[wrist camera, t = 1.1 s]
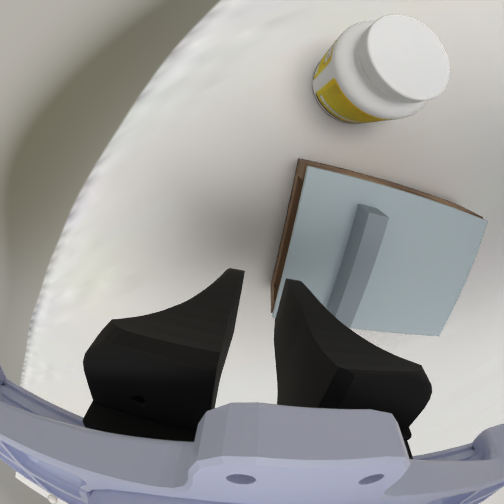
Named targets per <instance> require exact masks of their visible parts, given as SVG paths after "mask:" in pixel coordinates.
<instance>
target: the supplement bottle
mask: <svg viewBox="0 0 504 504" xmlns="http://www.w3.org/2000/svg"><path fill="white" fill-rule="evenodd" d="M449 76H450V64H449V59H448V56H447V53H446V51H445V48H444V46H443V45H442V43H441V41H440V40H439V38H438V37H437V36H436V35H435V34H434V32H433V31H432V30H431V29H429V28H428V27H427V26H426V25H424V24H423V23H422V22H420V21H418V20H416V19H414V18H412V17H409V16H405V15H400V14H391V15H386V16H383V17H381V18H379V19H377V20H376V21H364V22H360V23H357V24H354V25H352V26H351V27H349V28H348V29H346V30H345V31H344V32H343V33H342V34H341V35H340V36H339V37H338V39H337V40H336V41H335V43H334V44H333V45H332V46H331V48H330V49H329V50H328V52H327V53H326V54H325V55H324V57H323V58H322V60H321V61H320V62H319V64H318V65H317V67H316V69H315V71H314V75H313V81H312V85H313V91H314V95H315V97H316V99H317V101H318V103H319V104H320V106H321V107H322V108H323V109H324V110H325V111H326V112H327V113H328V114H329V115H331V116H332V117H334V118H336V119H337V120H340V121H343V122H346V123H367V122H375V121H383V120H393V119H400V118H405V117H408V116H410V115H413V114H414V113H416V112H417V111H419V110H420V109H421V108H422V107H423V106H424V105H425V103H426V102H427V100H430V99H433V98H435V97H437V96H439V95H440V94H441V93H442V92H443V91H444V89H445V88H446V86H447V84H448V81H449Z"/></svg>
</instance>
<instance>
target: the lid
mask: <svg viewBox="0 0 504 504" xmlns="http://www.w3.org/2000/svg"><path fill="white" fill-rule="evenodd" d="M486 224H487V221H486V220H484V219H482V218H479V217H477V216H474V215H472V214H469V213H467V212H464V211H461V210H459V209H456V208H453V207H450V206H448V205H445V204H442V203H439V202H436V201H433V200H430V199H427V198H424V197H421V196H418V195H415V194H412V193H409V192H406V191H403V190H399V189H396V188H393V187H389V186H386V185H382V184H379V183H375V182H372V181H368V180H365V179H361V178H357V177H353V176H349V175H345V174H342V173H337V172H333V171H329V170H325V169H321V168H316V167H312V166H307V168H306V173H305V177H304V182H303V187H302V191H301V196H300V200H299V205H298V209H297V214H296V218H295V223H294V227H293V231H292V236H291V240H290V244H289V249H288V253H287V257H286V261H285V265H284V269H283V274H282V278H281V282H280V286H279V290H278V294H277V298H276V302H275V306H274V310H273V317H274V318H276V314H277V311H278V307H279V303H280V299H281V295H282V291H283V288H284V284H285V280H286V278H287V279H293V280H299V281H302V282H303V283H304V284H305V286H306V287H307V288H308V289H309V290H310V291H311V292H312V293H313V295H314V296H315V297H316V298H317V299H318V300H319V301H320V302H321V303H322V304H323V306H324V307H325V308H326V309H327V310H328V311H329V312H331V313H332V314H333V315H334V316H335V317H336V318H337V319H338V320H339V321H340V322H342V323H343V324H344V325H345V326H347V327H348V328H353V329H362V330H371V331H381V332H391V333H403V334H415V335H428V336H439V335H440V333H441V331H442V329H443V327H444V326H445V324H446V322H447V320H448V318H449V316H450V314H451V312H452V310H453V308H454V306H455V303H456V301H457V299H458V297H459V295H460V293H461V290H462V288H463V286H464V284H465V281H466V279H467V277H468V274H469V272H470V269H471V267H472V264H473V262H474V259H475V256H476V254H477V251H478V248H479V245H480V243H481V240H482V237H483V234H484V231H485V228H486Z"/></svg>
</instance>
